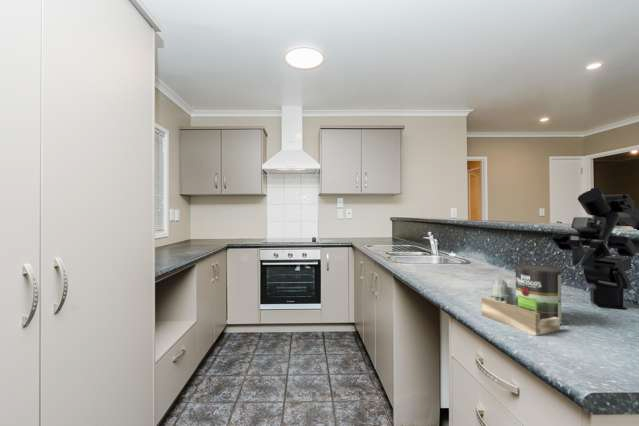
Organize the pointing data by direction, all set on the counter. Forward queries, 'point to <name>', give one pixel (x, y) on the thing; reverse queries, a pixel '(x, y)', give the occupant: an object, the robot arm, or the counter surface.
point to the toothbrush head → (499, 290)
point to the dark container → (539, 289)
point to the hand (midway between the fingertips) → (577, 264)
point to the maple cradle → (518, 317)
